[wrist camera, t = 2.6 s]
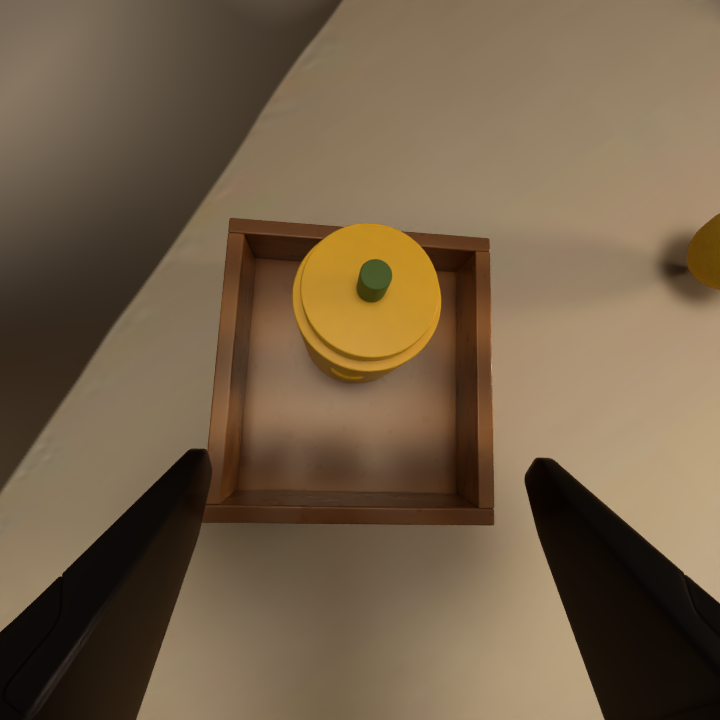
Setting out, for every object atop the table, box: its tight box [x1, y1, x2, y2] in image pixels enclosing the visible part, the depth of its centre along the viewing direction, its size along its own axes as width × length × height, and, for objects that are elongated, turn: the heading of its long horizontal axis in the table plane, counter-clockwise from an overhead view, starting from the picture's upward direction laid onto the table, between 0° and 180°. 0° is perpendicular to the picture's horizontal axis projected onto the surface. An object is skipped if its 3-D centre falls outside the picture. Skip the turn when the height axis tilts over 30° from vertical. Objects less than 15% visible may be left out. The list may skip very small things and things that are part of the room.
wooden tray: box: [202, 218, 494, 525], centre depth 20 cm, size 15×14×6 cm
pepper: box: [292, 223, 441, 384], centre depth 16 cm, size 6×6×9 cm
